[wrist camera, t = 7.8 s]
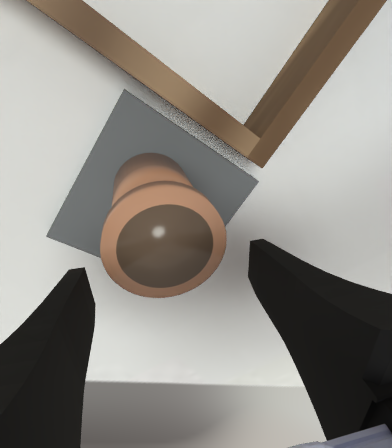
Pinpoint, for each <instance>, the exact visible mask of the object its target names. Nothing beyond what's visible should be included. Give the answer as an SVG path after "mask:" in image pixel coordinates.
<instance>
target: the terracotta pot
mask: <svg viewBox="0 0 392 448" xmlns="http://www.w3.org/2000/svg"><path fill="white" fill-rule="evenodd" d="M225 248H226V230H225V225H224V223H223V220H222V218H221V217H220V215H219V213H218V212H217V210H216V209H215V207H214V206H213V204H212V203H211V202H210V201H209V199H208V198H207V197H206V196H205V195H204V194H203V193H201V192H200V191H198V190H197V189H195V188H194V187H193V186H192V184H191V182H190V181H189V179H188V178H187V176H186V175H185V173H184V171H183V170H182V168H181V167H180V166H179V164H178V163H176V162H175V161H174V160H173V159H171V158H169V157H168V156H165V155H163V154H159V153H143V154H139V155H136V156H134V157H132V158H130V159H129V160H127V161H126V162H125V163H124V164H123V165H122V166H121V167H120V169H119V170H118V172H117V174H116V176H115V179H114V184H113V195H112V207H111V209H110V210H109V212H108V214H107V216H106V218H105V220H104V224H103V228H102V235H101V243H100V254H101V260H102V263H103V266H104V268H105V270H106V272H107V273H108V275H109V276H110V277H111V279H112V280H113V281H114V282H115V283H116V284H118V285H119V286H120V287H122V288H123V289H125V290H127V291H129V292H131V293H134V294H136V295H140V296H144V297H151V298H165V297H172V296H176V295H180V294H183V293H185V292H188V291H190V290H192V289H194V288H196V287H197V286H199V285H200V284H202V283H203V282H204V281H206V280H207V279H208V278H209V277H210V276H211V275H212V274H213V272H214V271H215V270H216V269H217V267H218V266H219V264H220V262H221V260H222V258H223V255H224V252H225Z"/></svg>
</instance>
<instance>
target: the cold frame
mask: <svg viewBox="0 0 392 448" xmlns="http://www.w3.org/2000/svg"><path fill="white" fill-rule="evenodd" d="M26 1H28V2H29V3H31V4H32V5H33V6H35V7H36V8H38V9H39V10H40V11H42V12H43V13H45V14H46V15H47V16H49V17H50V18H52V19H53V20H54V21H56V22H57V23H59V24H60V25H61V26H63V27H64V28H66V29H67V30H68V31H70V32H71V33H73V34H74V35H75V36H77V37H78V38H80V39H81V40H82V41H84V42H85V43H87V44H88V45H89V46H91V47H92V48H94V49H95V50H96V51H98V52H99V53H101V54H102V55H103V56H105V57H106V58H108V59H109V60H110V61H112V62H113V63H115V64H116V65H117V66H119V67H120V68H122V69H123V70H124V71H126V72H127V73H129V74H130V75H131V76H133V77H134V78H136V79H137V80H138V81H140V82H141V83H143V84H144V85H145V86H147V87H148V88H150V89H151V90H152V91H154V92H155V93H157V94H158V95H159V96H161V97H162V98H164V99H165V100H166V101H168V102H169V103H171V104H172V105H173V106H175V107H176V108H178V109H179V110H180V111H182V112H183V113H185V114H186V115H187V116H189V117H190V118H192V119H193V120H194V121H196V122H197V123H199V124H200V125H201V126H203V127H204V128H206V129H207V130H208V131H210V132H211V133H213V134H214V135H215V136H217V137H218V138H220V139H221V140H222V141H224V142H225V143H227V144H228V145H229V146H231V147H232V148H234V149H235V150H236V151H238V152H239V153H241V154H242V155H243V156H245V157H246V158H248V159H249V160H251V161H252V162H254V163H255V164H256V165H258V166H259V167H261V168H263V167H264V166H265V164H266V163H267V161H268V160H269V159H270V157H271V156H272V155H273V153H274V152H275V151H276V149H277V148H278V147H279V145H280V144H281V143H282V141H283V140H284V139H285V137H286V136H287V134H288V133H289V132H290V130H291V129H292V128H293V126H294V125H295V124H296V122H297V121H298V120H299V118H300V117H301V116H302V114H303V113H304V112H305V110H306V109H307V107H308V106H309V105H310V103H311V102H312V101H313V99H314V98H315V97H316V95H317V94H318V93H319V91H320V90H321V89H322V87H323V86H324V85H325V83H326V82H327V80H328V79H329V78H330V76H331V75H332V74H333V72H334V71H335V70H336V68H337V67H338V66H339V64H340V63H341V62H342V60H343V59H344V58H345V56H346V55H347V53H348V52H349V51H350V49H351V48H352V47H353V45H354V44H355V43H356V41H357V40H358V39H359V37H360V36H361V35H362V33H363V32H364V31H365V29H366V28H367V26H368V25H369V24H370V22H371V21H372V20H373V18H374V17H375V16H376V14H377V13H378V12H379V10H380V9H381V8H382V6H383V5H384V4H385V2H386V1H387V0H329V1H328V2H327V4H326V5H325V7H324V8H323V10H322V11H321V13H320V14H319V16H318V17H317V19H316V20H315V21H314V23H313V24H312V26H311V27H310V29H309V30H308V32H307V33H306V35H305V36H304V38H303V39H302V40H301V42H300V43H299V45H298V46H297V48H296V49H295V51H294V52H293V54H292V55H291V57H290V58H289V59H288V61H287V62H286V64H285V65H284V67H283V68H282V70H281V71H280V73H279V74H278V76H277V77H276V78H275V80H274V81H273V83H272V84H271V86H270V87H269V89H268V90H267V92H266V93H265V95H264V96H263V97H262V99H261V100H260V102H259V103H258V105H257V106H256V108H255V109H254V111H253V112H252V114H251V115H250V116H249V118H248V119H247V121H246V122H245V124H244V125H242V124H241V123H240V122H238V121H237V120H236V119H234V118H233V117H232V116H231V115H229V114H228V113H227V112H225V111H224V110H223V109H222V108H220V107H219V106H218V105H216V104H215V103H214V102H213V101H211V100H210V99H209V98H207V97H206V96H205V95H204V94H202V93H201V92H200V91H198V90H197V89H196V88H195V87H193V86H192V85H191V84H189V83H188V82H187V81H186V80H184V79H183V78H182V77H180V76H179V75H178V74H176V73H175V72H174V71H173V70H171V69H170V68H169V67H167V66H166V65H165V64H164V63H162V62H161V61H160V60H158V59H157V58H156V57H155V56H153V55H152V54H151V53H149V52H148V51H147V50H146V49H144V48H143V47H142V46H140V45H139V44H138V43H137V42H135V41H134V40H133V39H131V38H130V37H129V36H128V35H126V34H125V33H124V32H122V31H121V30H120V29H118V28H117V27H116V26H115V25H113V24H112V23H111V22H109V21H108V20H107V19H106V18H104V17H103V16H102V15H100V14H99V13H98V12H97V11H95V10H94V9H93V8H91V7H90V6H89V5H88V4H86V3H85V2H84V1H82V0H26Z"/></svg>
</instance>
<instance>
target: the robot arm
mask: <svg viewBox="0 0 392 448" xmlns="http://www.w3.org/2000/svg"><path fill="white" fill-rule="evenodd" d="M248 278H249V280H250V282H251V285H252V287H253V289H254V292H255V294H256V296H257V298H258V299H259V301H260V303H261V304H262V306H263V308H264V309H265V311H266V313H267V314H268V316H269V318H270V319H271V321H272V322H273V324H274V326H275V327H276V329H277V331H278V332H279V334H280V336H281V337H282V339H283V341H284V343H285V345H286V347H287V349H288V351H289V353H290V355H291V357H292V359H293V361H294V363H295V365H296V368H297V370H298V372H299V374H300V377H301V379H302V381H303V383H304V385H305V388H306V390H307V392H308V395H309V397H310V400H311V402H312V404H313V406H314V409H315V411H316V414H317V416H318V419H319V421H320V424H321V426H322V429H323V432H324V434H325V437H326V439H327V441H325V442H322V443H321V442H310V443H305V444H299V445H296V446H292V447H289V448H392V294H390V293H386V292H382V291H378V290H375V289H372V288H368V287H365V286H362V285H359V284H356V283H353V282H350V281H347V280H345V279H342V278H340V277H337V276H335V275H332V274H330V273H327V272H325V271H323V270H321V269H319V268H317V267H314V266H312V265H310V264H308V263H306V262H304V261H302V260H301V259H299V258H297V257H295V256H293V255H291V254H290V253H288V252H286V251H284V250H282V249H281V248H279V247H277V246H275V245H274V244H272V243H270V242H268V241H266V240H264V239H259V240H253V241H250V252H249V270H248ZM94 326H95V302H94V298H93V295H92V291H91V288H90V284H89V281H88V277H87V274H86V271H85V267H83V268H77V269H71V270H68V272H67V273H66V274H65V275H64V276H63V278H62V279H61V280H60V281H59V283H58V284H57V285H56V286H55V287H54V289H53V290H52V291H51V292H50V294H49V295H48V296H47V297H46V298H45V299H44V301H43V302H42V303H41V304H40V305H39V306H38V308H37V309H36V310H35V311H34V312H33V313H32V314H31V315H30V316H29V317H28V318H27V319H26V320H25V322H24V323H23V324H22V325H21V326H20V327H19V328H18V329H17V330H16V331H15V332H13V333H12V334H11V335H10V336H9V337H8V338H7V339H6V340H5V341H4V342H3V343H2V344H0V448H80V442H81V425H82V424H81V423H82V409H83V395H84V385H85V378H86V373H87V367H88V361H89V356H90V350H91V344H92V338H93V333H94Z"/></svg>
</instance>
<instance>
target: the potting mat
mask: <svg viewBox="0 0 392 448" xmlns="http://www.w3.org/2000/svg"><path fill="white" fill-rule="evenodd" d="M143 153H159V154H163V155H165V156H168V157H169V158H171V159H173V160H174V161H175V162H176V163H178V164H179V166H180V167H181V168H182V170H183V171H184V173H185V175H186V176H187V178H188V179H189V181H190V182H191V184H192V186H193V187H194V188H195V189H197V190H198V191H200V192H201V193H203V194H204V195H205V196H206V197H207V198H208V199H209V201H210V202H211V203H212V204H213V206H214V207H215V209H216V210H217V212H218V213H219V215H220V217H221V218H222V220H223V223H224V225H225V226H226V225H227V223H228V222H229V221H230V219H231V218H232V217H233V215H234V214H235V213H236V211H237V210H238V209H239V207H240V206H241V205H242V203H243V202H244V201H245V199H246V198H247V197H248V195H249V194H250V193H251V191H252V190H253V189H254V187H255V186H256V185H257V183H258V182H259V181H257V180H256V179H255V178H253V177H252V176H250V175H249V174H248V173H246V172H245V171H243V170H242V169H240V168H239V167H237V166H236V165H234V164H233V163H231V162H230V161H229V160H227V159H226V158H224V157H223V156H221V155H220V154H218V153H217V152H215V151H214V150H212V149H211V148H209V147H208V146H207V145H205V144H204V143H202V142H201V141H199V140H198V139H196V138H195V137H193V136H192V135H190V134H189V133H188V132H186V131H185V130H183V129H182V128H180V127H179V126H177V125H176V124H174V123H173V122H171V121H170V120H169V119H167V118H166V117H164V116H163V115H161V114H160V113H158V112H157V111H155V110H154V109H152V108H151V107H149V106H148V105H147V104H145V103H144V102H142V101H141V100H139V99H138V98H136V97H135V96H133V95H132V94H130V93H129V92H128V91H126V90H125V89H124V90H123V92H122V94H121V96H120V98H119V100H118V102H117V104H116V105H115V107H114V109H113V111H112V113H111V115H110V117H109V119H108V120H107V122H106V124H105V126H104V128H103V130H102V132H101V134H100V136H99V137H98V139H97V141H96V143H95V145H94V147H93V149H92V151H91V152H90V154H89V156H88V158H87V160H86V162H85V164H84V166H83V168H82V169H81V171H80V173H79V175H78V177H77V179H76V181H75V183H74V185H73V186H72V188H71V190H70V192H69V194H68V196H67V198H66V200H65V201H64V203H63V205H62V207H61V209H60V211H59V213H58V215H57V217H56V218H55V220H54V222H53V224H52V226H51V228H50V230H49V232H48V234H47V236H46V237H49V238H51V239H54V240H57V241H59V242H62V243H64V244H67V245H69V246H72V247H74V248H77V249H80V250H82V251H85V252H87V253H90V254H92V255H95V256H97V257H100V258H101V254H100V243H101V235H102V228H103V224H104V220H105V218H106V216H107V214H108V212H109V210H110V209H111V207H112V195H113V184H114V179H115V176H116V174H117V172H118V170H119V169H120V167H121V166H122V165H123V164H124V163H125V162H126V161H127V160H129V159H130V158H132V157H134V156H136V155H139V154H143Z"/></svg>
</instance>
